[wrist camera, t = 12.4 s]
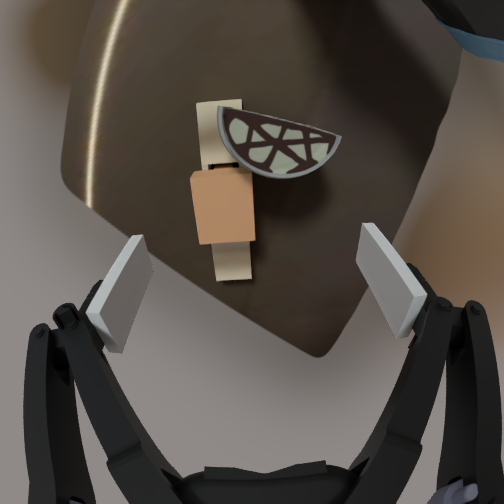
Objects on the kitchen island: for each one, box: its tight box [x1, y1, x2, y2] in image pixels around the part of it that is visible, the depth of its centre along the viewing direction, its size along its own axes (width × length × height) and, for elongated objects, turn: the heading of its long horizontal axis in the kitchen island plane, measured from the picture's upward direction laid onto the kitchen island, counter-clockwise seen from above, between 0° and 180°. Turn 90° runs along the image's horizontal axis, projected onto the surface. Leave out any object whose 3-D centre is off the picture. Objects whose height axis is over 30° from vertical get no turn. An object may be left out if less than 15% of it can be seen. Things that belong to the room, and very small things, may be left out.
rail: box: [196, 99, 252, 281], centre depth 34 cm, size 24×5×3 cm, turn 3°
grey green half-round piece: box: [217, 105, 342, 179], centre depth 28 cm, size 12×6×10 cm, turn 77°
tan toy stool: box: [190, 163, 255, 244], centre depth 32 cm, size 8×6×6 cm
